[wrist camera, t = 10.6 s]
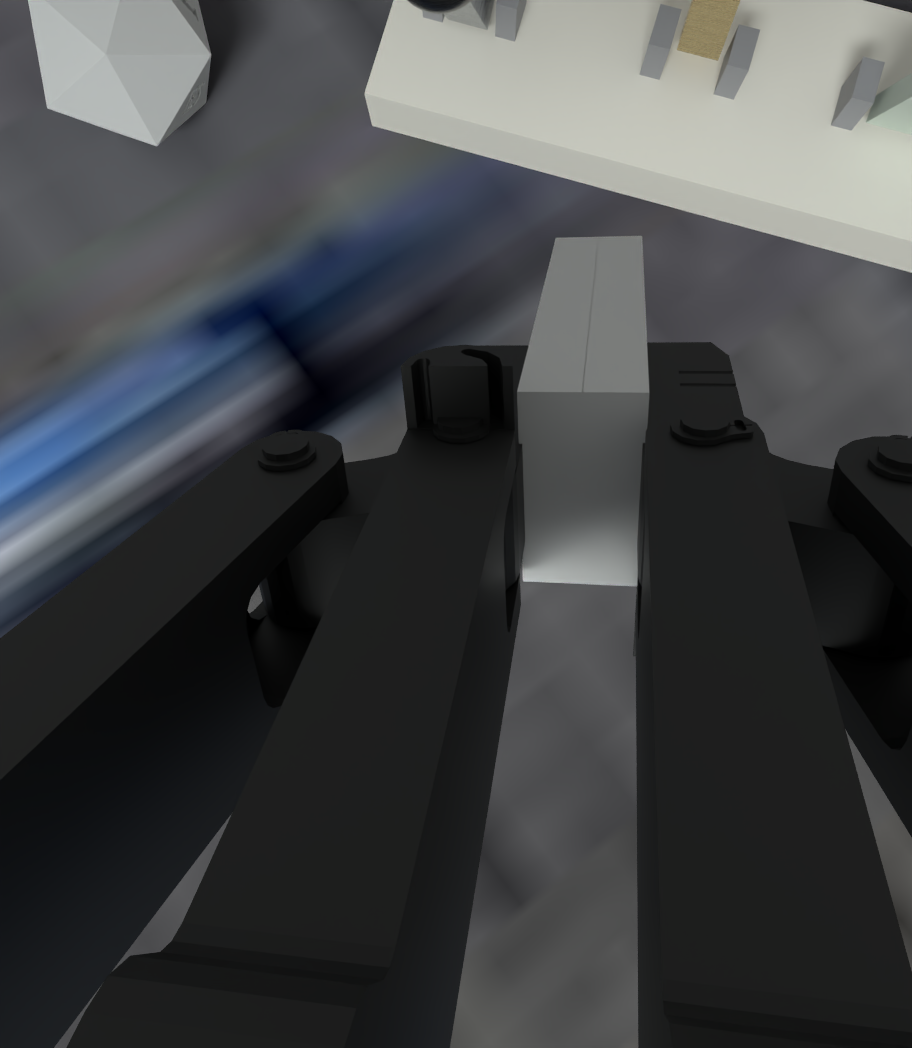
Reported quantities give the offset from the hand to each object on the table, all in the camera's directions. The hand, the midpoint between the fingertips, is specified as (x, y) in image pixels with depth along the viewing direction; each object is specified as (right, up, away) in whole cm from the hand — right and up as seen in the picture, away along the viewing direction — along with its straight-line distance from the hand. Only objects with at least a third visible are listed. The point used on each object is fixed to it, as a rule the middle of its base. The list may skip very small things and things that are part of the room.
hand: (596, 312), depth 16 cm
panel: (+9, +18, +29) cm, 36 cm away
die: (-19, +19, +30) cm, 41 cm away
